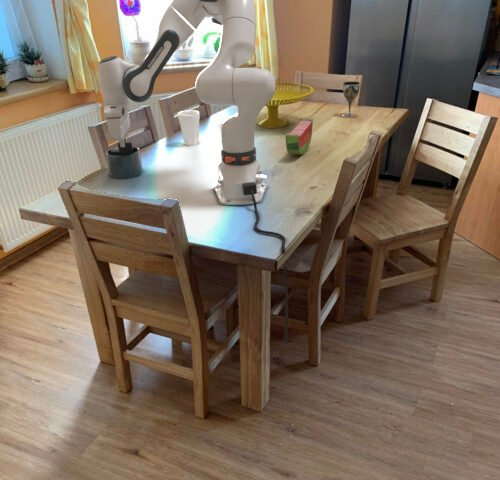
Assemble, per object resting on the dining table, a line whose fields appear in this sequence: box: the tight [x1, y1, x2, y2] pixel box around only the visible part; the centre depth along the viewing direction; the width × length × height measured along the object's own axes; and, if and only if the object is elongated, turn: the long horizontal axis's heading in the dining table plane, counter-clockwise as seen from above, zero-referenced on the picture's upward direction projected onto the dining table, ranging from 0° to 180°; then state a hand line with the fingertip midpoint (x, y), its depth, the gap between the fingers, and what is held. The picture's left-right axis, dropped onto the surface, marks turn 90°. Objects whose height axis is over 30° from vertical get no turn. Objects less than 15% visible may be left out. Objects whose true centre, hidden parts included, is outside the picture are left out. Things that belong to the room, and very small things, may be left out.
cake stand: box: [258, 81, 315, 129], centre depth 249 cm, size 40×40×15 cm
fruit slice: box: [285, 117, 314, 156], centre depth 214 cm, size 26×6×10 cm, turn 162°
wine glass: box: [341, 81, 361, 118], centre depth 256 cm, size 8×8×15 cm
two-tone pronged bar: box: [111, 141, 134, 152], centre depth 197 cm, size 8×3×3 cm, turn 90°
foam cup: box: [177, 109, 201, 147], centre depth 228 cm, size 10×9×13 cm
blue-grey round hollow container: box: [105, 146, 144, 180], centre depth 201 cm, size 13×13×8 cm
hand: (123, 145), depth 197 cm, fingers closed on two-tone pronged bar, 2 cm apart
